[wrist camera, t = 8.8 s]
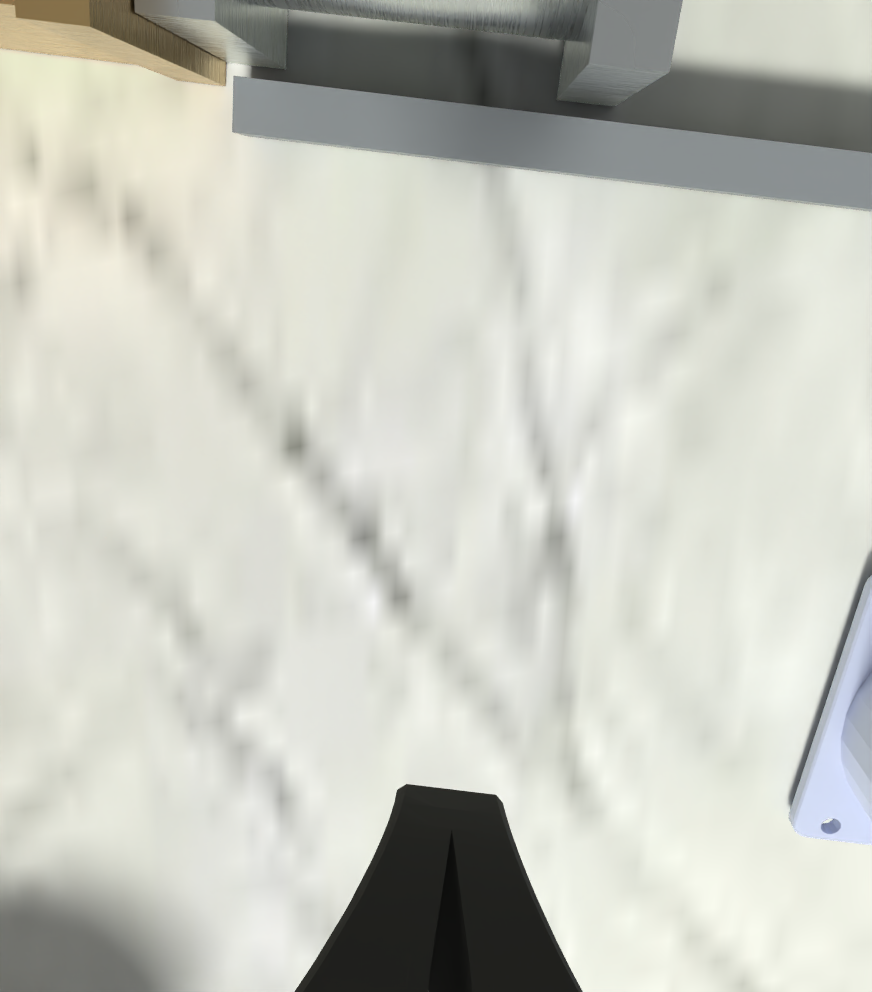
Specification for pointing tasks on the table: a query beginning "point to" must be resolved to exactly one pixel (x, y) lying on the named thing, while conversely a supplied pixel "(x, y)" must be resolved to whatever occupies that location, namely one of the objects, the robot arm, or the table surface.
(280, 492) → the table surface
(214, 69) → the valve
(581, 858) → the table surface
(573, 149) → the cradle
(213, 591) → the table surface
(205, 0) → the spool
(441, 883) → the robot arm
